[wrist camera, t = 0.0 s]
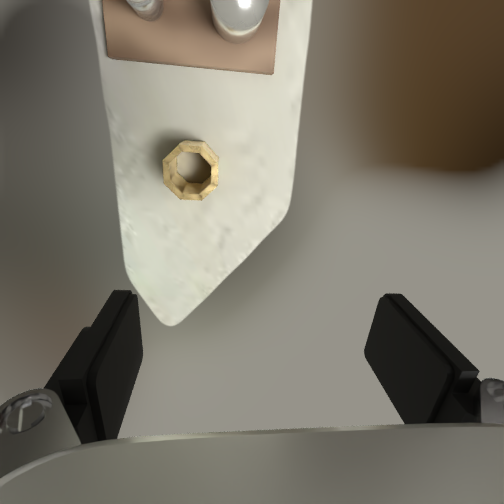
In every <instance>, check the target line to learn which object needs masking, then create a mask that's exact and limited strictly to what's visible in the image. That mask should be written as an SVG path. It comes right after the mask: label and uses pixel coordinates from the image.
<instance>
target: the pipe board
mask: <svg viewBox="0 0 504 504" xmlns="http://www.w3.org/2000/svg"><path fill="white" fill-rule="evenodd" d="M102 3H103V13H104V22H105V32H106V41H107V50H108V57H110V58H112V59H117V60H127V61H137V62H147V63H157V64H167V65H177V66H187V67H197V68H207V69H217V70H227V71H237V72H246V73H256V74H266V75H272V74H273V73H274V63H275V52H276V41H277V30H278V19H279V8H280V0H269V3H268V6H267V9H266V11H265V14H264V16H263V19H262V21H261V23H260V26H259V28H258V30H257V32H256V34H255V35H254V36H253V37H252V38H251V39H250V40H249V41H247V42H245V43H242V44H234V43H230V42H228V41H226V40H225V39H223V38H222V37H221V36H220V35H219V33H218V32H217V30H216V28H215V26H214V23H213V20H212V12H211V2H210V0H163V12H162V15H161V16H160V18H159V19H157V20H156V21H152V22H149V21H145V20H144V19H142V18H141V17H140V16H139V15H138V14H137V13H136V12H135V10H134V9H133V8H132V7H131V5H130V4H129V3H128V2H127V1H126V0H102Z"/></svg>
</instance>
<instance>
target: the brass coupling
mask: <svg viewBox="0 0 504 504" xmlns="http://www.w3.org/2000/svg"><path fill="white" fill-rule="evenodd" d="M181 152H195V153H200V154H201V155H202V156H203V157H204V158H205V160H206V161H207V162H208V163H209V164H210V165H211V176H210V177H209V178H208V179H207V180H206V181H205V182H203V183H202V184H200V183H188V182H187V181H186V180H185V179H184V178H183V177H182V176H181V175H180V174H179V173H178V172H177V156H178V155H179V154H180V153H181ZM218 160H219V157H218V156H217V155H216V154H215V153H214V152H213V150H212V149H211V148H210V147H209V146H208V145H207V144H206V143H205V141H204V142H201V141H187V140H184V141H183V142H181V143H180V144H178V146H177V147H176V148H175V149H174V150H173V151H172V152H171V153H170V154H169V155H168V156H167V157H166V158H164V159H163V179H164V184H165V185H166V186H167V187H168V188H169V189H170V190H171V191H172V192H173V193H174V194H175V195H176V196H177V197H178V198H179V199H180V200H181V199H183V200H201V201H202V200H203V199H204V198H205V197H206V196H207V195H208V194H209V193H210V192H211V191H213V190H214V189H215V188H216V187H217V186H218Z"/></svg>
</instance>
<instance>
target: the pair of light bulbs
mask: <svg viewBox="0 0 504 504" xmlns="http://www.w3.org/2000/svg"><path fill="white" fill-rule="evenodd" d="M126 1H127V2H128V3H129V4H130V5H131V7H132V8H133V9H134V10H135V12H136V13H137V14H138V15H139V16H140V17H141V18H142V19H144V20H145V21H149V22H152V21H156V20H157V19H159V18H160V16H161V15H162V12H163V0H126ZM210 2H211V12H212V20H213V23H214V26H215V28H216V30H217V32H218V33H219V35H220V36H221V37H222V38H223V39H225V40H226V41H228V42H230V43H234V44H242V43H245V42H247V41H249V40H250V39H251V38H252V37H253V36H254V35H255V34H256V32H257V30H258V28H259V26H260V23H261V21H262V19H263V16H264V14H265V11H266V9H267V6H268V3H269V0H210Z"/></svg>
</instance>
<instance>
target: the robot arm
mask: <svg viewBox="0 0 504 504" xmlns="http://www.w3.org/2000/svg"><path fill="white" fill-rule="evenodd" d="M364 354H365V358H366V359H367V361H368V363H369V365H370V366H371V368H372V370H373V371H374V373H375V375H376V376H377V378H378V380H379V381H380V383H381V385H382V386H383V388H384V390H385V392H386V393H387V395H388V397H389V398H390V400H391V402H392V403H393V405H394V407H395V408H396V410H397V412H398V413H399V415H400V417H401V419H402V420H403V422H404V423H405V424H399V425H373V426H372V425H371V426H344V427H319V428H298V429H297V428H295V429H274V430H273V429H272V430H251V431H231V432H230V431H229V432H209V433H190V434H189V433H188V434H172V435H157V436H141V437H129V438H121V439H117V436H118V433H119V430H120V427H121V424H122V421H123V418H124V415H125V412H126V408H127V406H128V403H129V400H130V396H131V393H132V390H133V387H134V384H135V381H136V378H137V375H138V372H139V368H140V366H141V362H142V358H143V347H142V337H141V327H140V317H139V307H138V298H137V295H136V294H132V292H131V290H114V291H113V292H112V293H111V295H110V297H109V298H108V300H107V301H106V303H105V305H104V306H103V308H102V309H101V311H100V313H99V314H98V316H97V318H96V319H95V321H94V322H93V324H92V326H91V327H85V328H83V329H82V331H81V332H80V333H79V335H78V337H77V338H76V340H75V341H74V343H73V344H72V346H71V347H70V349H69V350H68V352H67V353H66V355H65V356H64V358H63V360H62V361H61V362H60V364H59V366H58V367H57V369H56V370H55V372H54V373H53V375H52V377H51V378H50V379H49V381H48V383H47V384H46V386H45V387H44V389H42V388H38V389H33V390H28V391H25V392H23V393H20V394H18V395H16V396H14V397H12V398H10V399H9V400H7V401H6V402H5V403H3V404H2V405H1V406H0V504H504V381H503V380H500V379H495V378H486V379H484V380H482V381H480V380H479V379H478V378H477V375H478V373H479V370H478V369H477V368H476V367H475V366H474V365H473V364H472V363H471V362H470V361H469V360H468V359H467V358H466V357H465V356H464V355H463V354H462V353H461V352H460V351H459V350H458V349H457V348H456V347H455V346H454V345H453V344H452V343H451V342H450V341H449V340H448V339H447V338H446V337H445V336H444V335H442V334H441V332H440V331H439V330H437V329H436V327H434V326H433V325H432V324H431V323H430V322H429V321H428V320H427V319H426V318H425V317H424V316H423V315H422V314H421V313H420V312H419V311H418V310H417V309H416V308H415V307H414V306H413V305H412V304H411V303H410V302H409V301H408V300H407V299H406V298H405V297H404V296H403V295H402V294H385V295H384V296H383V297H381V298H380V300H379V302H378V305H377V308H376V312H375V315H374V319H373V322H372V325H371V329H370V332H369V335H368V339H367V342H366V346H365V349H364Z"/></svg>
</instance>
